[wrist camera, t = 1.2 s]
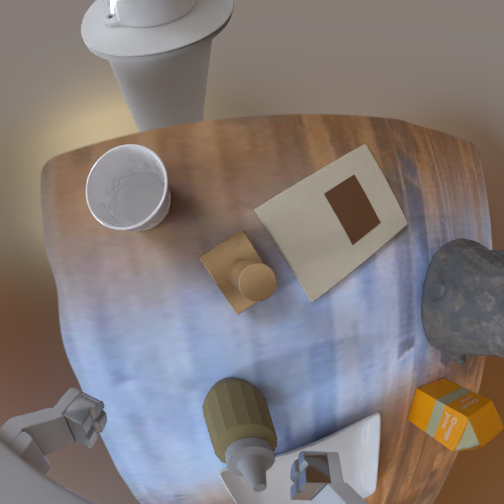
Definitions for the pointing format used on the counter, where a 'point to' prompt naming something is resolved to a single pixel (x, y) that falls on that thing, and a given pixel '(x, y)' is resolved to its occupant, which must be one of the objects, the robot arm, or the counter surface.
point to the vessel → (465, 300)
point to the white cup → (129, 189)
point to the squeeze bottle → (241, 429)
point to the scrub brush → (239, 272)
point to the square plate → (343, 442)
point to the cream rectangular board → (333, 220)
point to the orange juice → (455, 415)
